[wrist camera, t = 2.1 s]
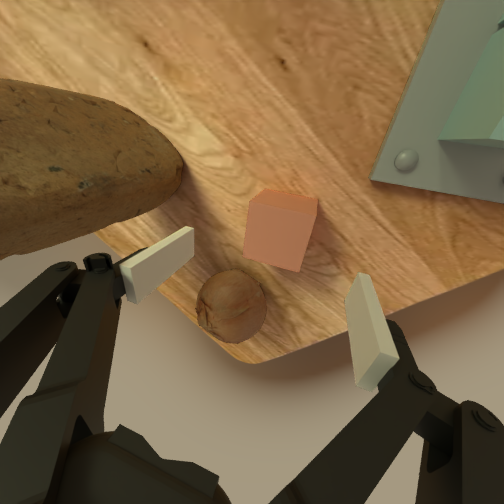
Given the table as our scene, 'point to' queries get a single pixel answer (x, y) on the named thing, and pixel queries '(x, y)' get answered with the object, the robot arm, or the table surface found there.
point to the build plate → (452, 107)
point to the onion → (231, 306)
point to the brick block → (279, 228)
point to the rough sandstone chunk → (74, 166)
